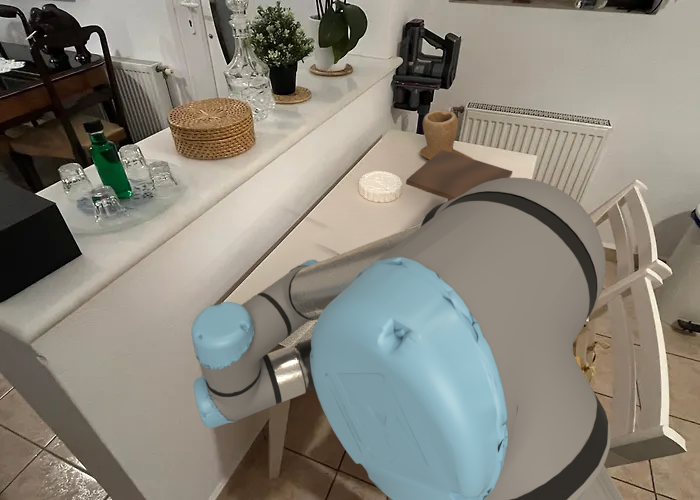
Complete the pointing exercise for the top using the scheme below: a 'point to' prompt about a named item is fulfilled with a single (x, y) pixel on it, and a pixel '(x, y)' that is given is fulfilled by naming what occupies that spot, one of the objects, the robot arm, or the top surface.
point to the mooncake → (380, 186)
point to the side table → (454, 175)
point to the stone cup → (440, 133)
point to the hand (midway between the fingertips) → (419, 324)
